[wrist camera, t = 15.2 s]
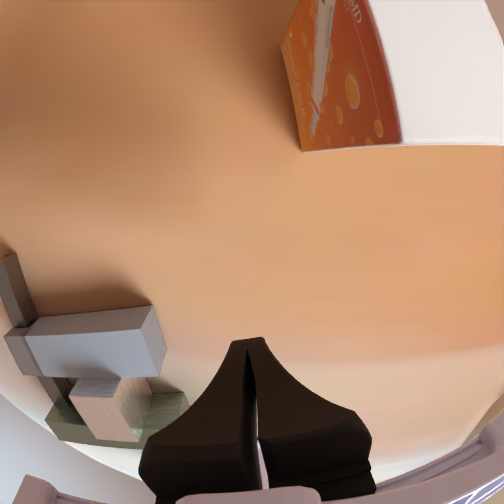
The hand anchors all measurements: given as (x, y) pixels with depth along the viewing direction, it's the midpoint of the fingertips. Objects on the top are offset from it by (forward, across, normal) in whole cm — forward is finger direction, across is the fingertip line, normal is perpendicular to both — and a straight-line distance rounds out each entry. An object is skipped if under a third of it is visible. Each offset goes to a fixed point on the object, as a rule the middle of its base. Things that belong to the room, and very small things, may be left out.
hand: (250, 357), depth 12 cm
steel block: (+9, +12, +8) cm, 17 cm away
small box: (+10, -8, -12) cm, 17 cm away
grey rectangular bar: (+9, +14, +3) cm, 17 cm away
